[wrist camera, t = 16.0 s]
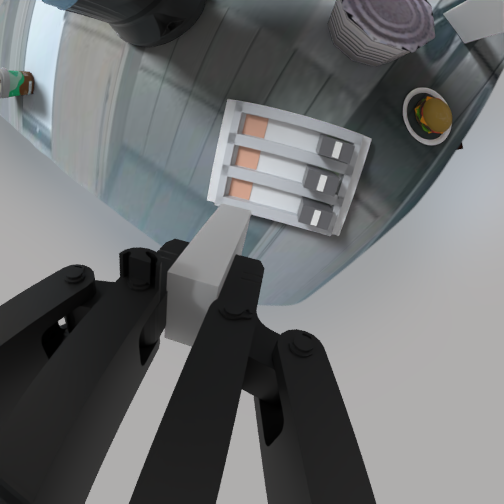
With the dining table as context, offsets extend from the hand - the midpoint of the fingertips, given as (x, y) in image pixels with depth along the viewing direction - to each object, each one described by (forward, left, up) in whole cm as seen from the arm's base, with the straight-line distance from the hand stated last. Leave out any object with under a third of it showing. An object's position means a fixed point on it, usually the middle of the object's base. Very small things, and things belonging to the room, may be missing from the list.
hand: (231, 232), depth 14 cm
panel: (+2, 0, -26) cm, 27 cm away
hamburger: (+21, +15, -27) cm, 37 cm away
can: (+8, +24, -27) cm, 37 cm away
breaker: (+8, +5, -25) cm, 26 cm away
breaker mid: (+7, 0, -25) cm, 26 cm away
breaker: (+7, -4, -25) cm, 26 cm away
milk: (+24, +36, -27) cm, 51 cm away
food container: (-56, +12, -27) cm, 63 cm away
